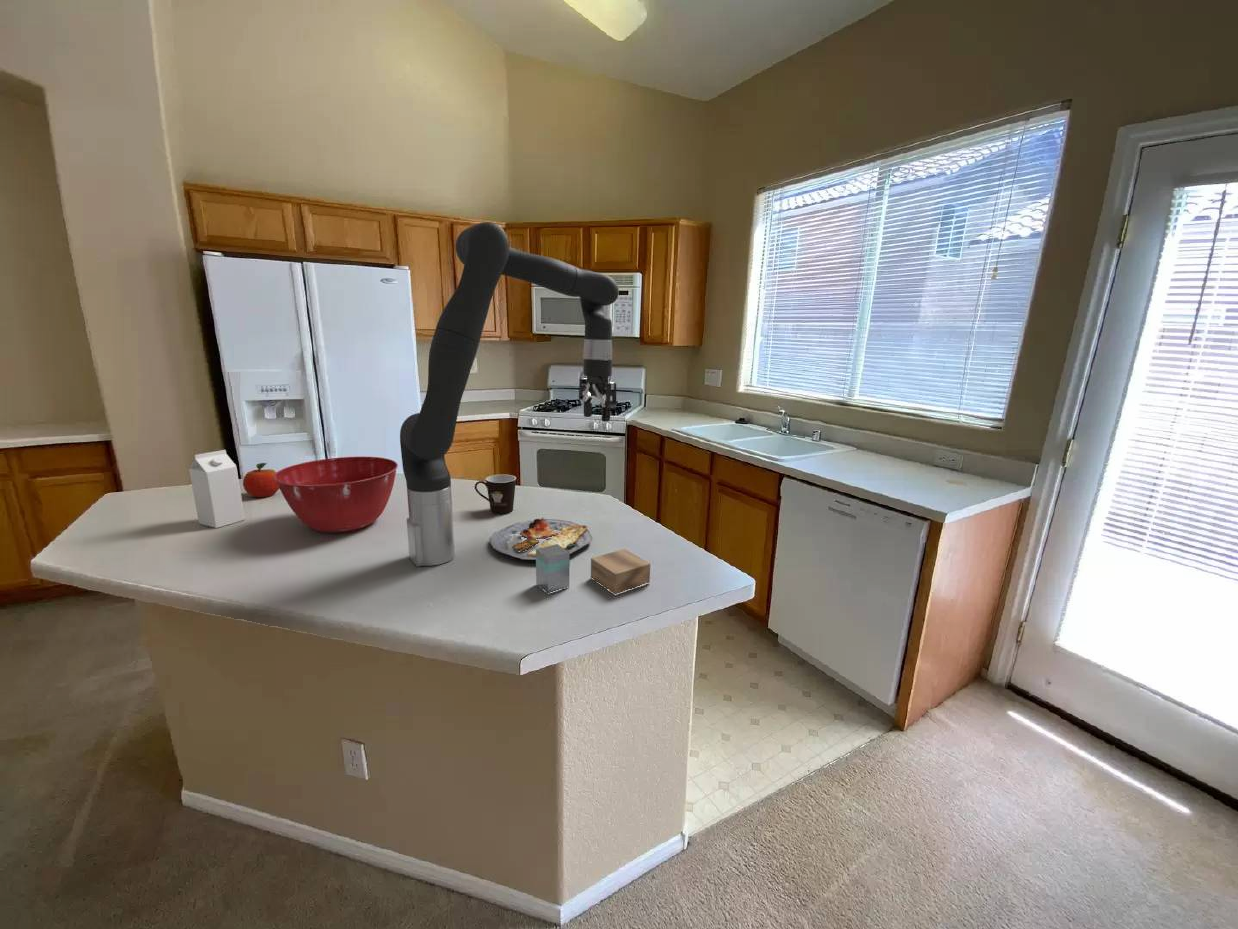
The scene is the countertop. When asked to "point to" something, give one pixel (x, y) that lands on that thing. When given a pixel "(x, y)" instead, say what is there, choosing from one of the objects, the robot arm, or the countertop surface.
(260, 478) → the fruit
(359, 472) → the mixing bowl
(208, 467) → the milk carton
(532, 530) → the food plate
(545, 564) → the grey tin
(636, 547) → the countertop surface
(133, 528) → the countertop surface
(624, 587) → the tan block
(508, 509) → the coffee mug
